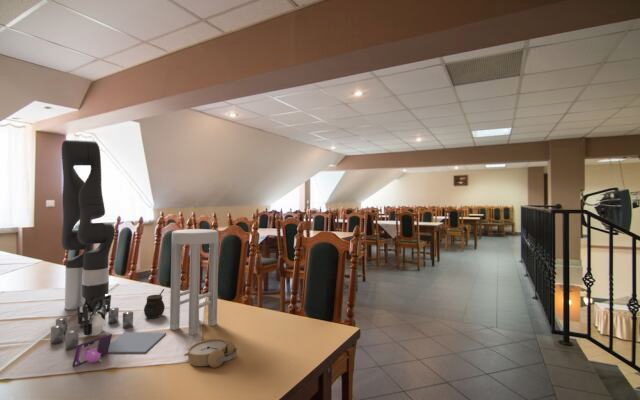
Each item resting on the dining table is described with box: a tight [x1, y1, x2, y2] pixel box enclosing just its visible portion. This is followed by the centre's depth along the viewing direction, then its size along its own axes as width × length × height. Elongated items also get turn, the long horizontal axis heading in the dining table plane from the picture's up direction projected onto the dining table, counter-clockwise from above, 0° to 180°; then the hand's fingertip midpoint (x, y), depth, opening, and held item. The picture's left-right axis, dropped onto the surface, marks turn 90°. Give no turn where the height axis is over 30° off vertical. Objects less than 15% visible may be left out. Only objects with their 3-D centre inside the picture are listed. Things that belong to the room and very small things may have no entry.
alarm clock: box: [183, 338, 238, 369], centre depth 94 cm, size 11×5×15 cm
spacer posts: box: [50, 307, 134, 351], centre depth 110 cm, size 24×22×5 cm
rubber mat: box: [107, 332, 167, 354], centre depth 103 cm, size 14×14×1 cm
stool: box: [169, 228, 220, 336], centre depth 118 cm, size 16×16×35 cm
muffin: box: [88, 312, 107, 337], centre depth 110 cm, size 6×6×7 cm
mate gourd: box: [143, 288, 166, 319], centre depth 127 cm, size 7×8×10 cm
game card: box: [71, 333, 113, 368], centre depth 91 cm, size 7×5×9 cm
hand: (94, 330), depth 110 cm, fingers closed on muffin, 6 cm apart
